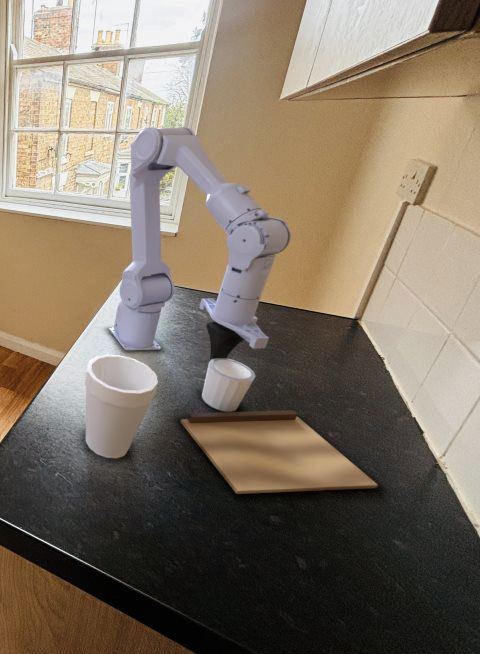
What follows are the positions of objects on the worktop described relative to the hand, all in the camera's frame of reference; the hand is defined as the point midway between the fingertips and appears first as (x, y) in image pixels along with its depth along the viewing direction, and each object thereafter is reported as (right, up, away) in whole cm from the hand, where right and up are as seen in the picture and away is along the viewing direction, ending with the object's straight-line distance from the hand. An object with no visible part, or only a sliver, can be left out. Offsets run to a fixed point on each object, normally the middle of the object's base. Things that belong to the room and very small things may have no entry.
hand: (217, 362), depth 72 cm
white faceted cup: (0, -7, 0) cm, 7 cm away
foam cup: (-23, -11, -10) cm, 28 cm away
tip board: (+1, -12, -11) cm, 16 cm away
